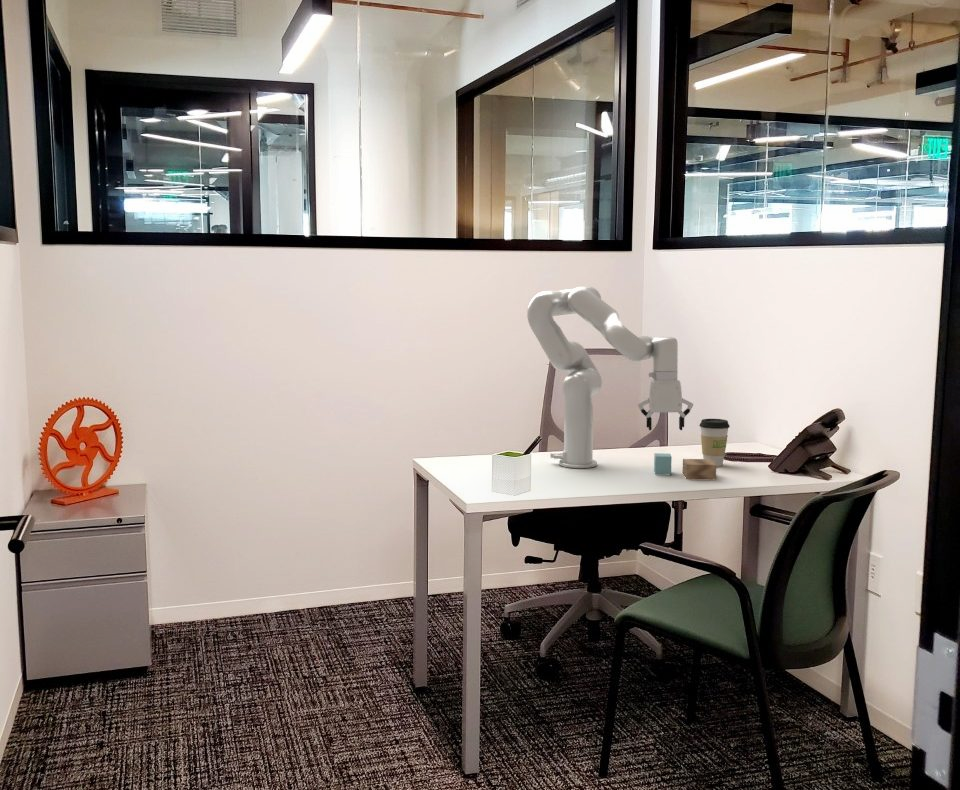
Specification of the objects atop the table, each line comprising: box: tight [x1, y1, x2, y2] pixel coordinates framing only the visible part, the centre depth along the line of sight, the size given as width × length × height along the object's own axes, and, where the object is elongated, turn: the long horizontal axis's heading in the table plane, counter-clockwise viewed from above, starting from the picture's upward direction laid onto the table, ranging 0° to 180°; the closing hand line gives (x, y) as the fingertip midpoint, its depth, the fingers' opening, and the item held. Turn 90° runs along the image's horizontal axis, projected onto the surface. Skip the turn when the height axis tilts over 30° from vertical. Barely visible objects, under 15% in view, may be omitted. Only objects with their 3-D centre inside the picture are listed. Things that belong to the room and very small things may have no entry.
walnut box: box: [682, 458, 717, 480], centre depth 292 cm, size 9×9×5 cm
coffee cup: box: [698, 418, 730, 468], centre depth 309 cm, size 10×10×15 cm
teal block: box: [653, 452, 673, 475], centre depth 297 cm, size 5×5×6 cm
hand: (665, 429), depth 295 cm, fingers open, 9 cm apart
